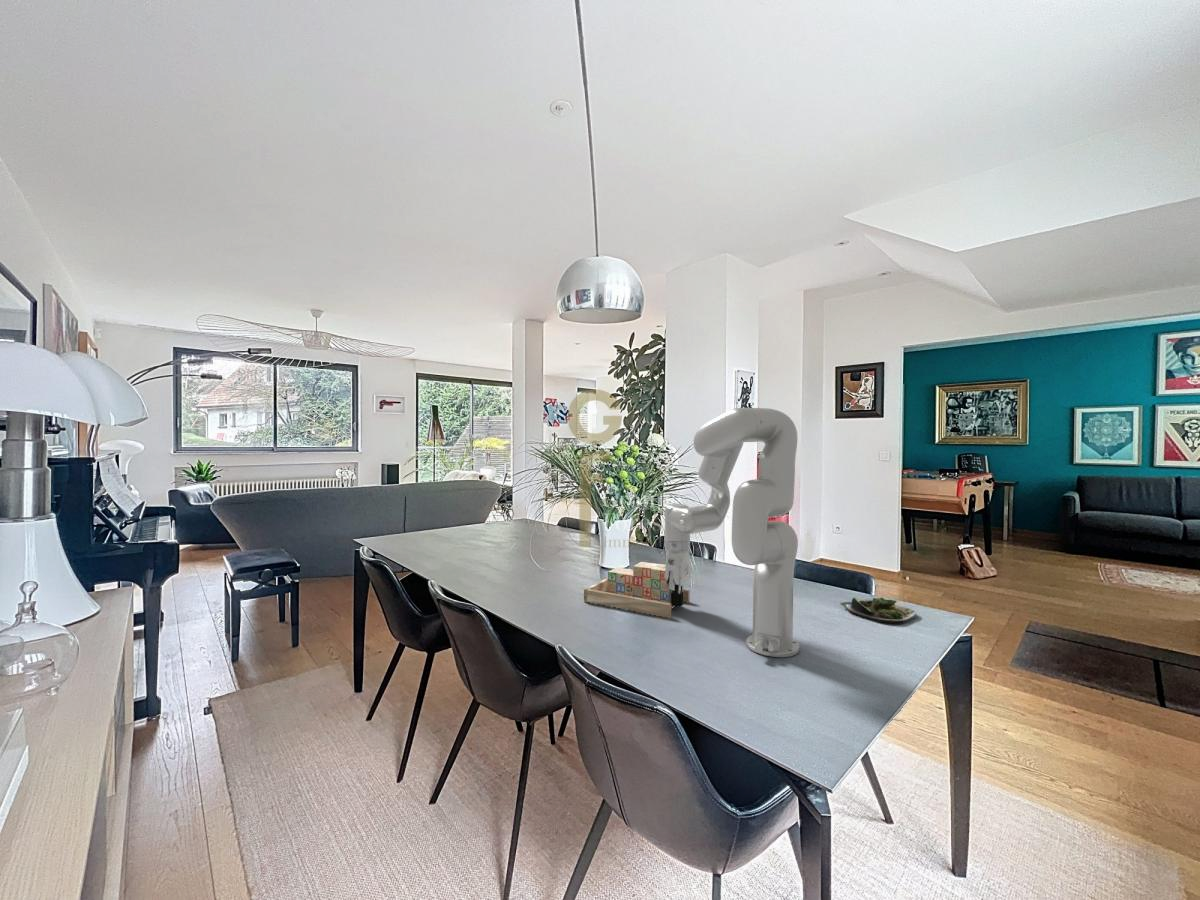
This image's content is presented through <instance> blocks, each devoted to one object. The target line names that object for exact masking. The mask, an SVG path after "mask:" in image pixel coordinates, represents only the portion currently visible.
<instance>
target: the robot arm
mask: <svg viewBox="0 0 1200 900" xmlns="http://www.w3.org/2000/svg"><path fill="white" fill-rule="evenodd" d="M757 442H760V443H761V442H762V443H764V446H763V449H762V450H761V453H760V455H759V459H758V472H757V478H756V479H750V480H747V481H744V482H743V483H741V484H740V485H739V486H738V487H737V488H736V491H735V493H734V495H733V498H732V499H733V500H732V511H731V512H732V513H731V514H732V516H731V517H732V518H731V548H732V550H733V551H732V552H733V554H734V556H735V558H736V559H737V560H738V561H739V562H740V563H742V564H744V565H747V566H754V569H753V575H752V576H753V579H752V634H750V635H749V636H747V637H746V640H745V641H746V642H745V643H746V647H747V648H748V649H749V650H751V651H752V652H754V653H757V654H760V655H763V656H767V657H773V658H789V657H794V656H796V655H797V654H799V652H800V645H799V642H797V640H795V639H794V580H795V579H794V573H795V564H796V559H797V558H796V557H797V554H798V547H799V546H798V545H799V543H798V542H799V540H798V539H799V538H798V535H797V532H796V531H795V529H794V528H793V527H792V526H791V525H790V524H788V523H787V522H785V521H782V520H769V521H768V519H771V518H776V517H781V516H783V515H787V514H788V513H789V512H790V511H791V510H792V509H793V506H794V501H795V500H794V499H795V481H796V480H795V478H796V477H795V476H796V456H797V448H798V430H797V427H796V425H795V423H794V421H793V419H792V418H791V417H790V416H788V415H787V414H785V413H784V412H783V411H780V410H777V409H774V408H766V407H765V408H764V407H736V408H733V409H730V410H728V411H726V412H723V414H721V415H719V416H717V417H715V418H713V419H711V420H709V421H708V422H706V423H704V424H703V425H702V426H701V427H699V429H697V431H696V432H695V434H694V437H693V448H694V450H695V451H696V453H697V454H698V455H699V456H701V457H703V458H702V462H701V463H700V466H699V468H698V471H697V475H698V477H699V479H701V481H702V482H703V483H705V484H706V485H708V486H710V488H711V491H710V496H709V498H708V501H707V503H706V505H699V506H692V507H689V506H688V505H686V504H682V503H671V504H668V505H666V506H665V509H664V551H666V555H665V564H664V565H665V581H666V583H667V584H669V590H671V604H672V605H673V606H674V607H679V608H681V607H682V606H683V605H684V602H683V591H684V589H685V584H686V583H688V582H689V581H690V580H691V578H692V566H691V553H690V552H691V535H693V534H699V533H700V534H701V533H703V532H704V533H705V532H710V531H714V530H717V529H718V528H720V526H721V525H722V524H723V522H724V520H725V519H726V517H727V514H728V511H729V509H730V505H731V493H730V487H729V480H730V477H731V474H732V472H733V469H734V467H735V465H736V463H737V460H738V459H739V456H740V453H741V450H742V448H743V446H744V443H757ZM669 578H670V580H669ZM668 580H669V581H668Z"/></svg>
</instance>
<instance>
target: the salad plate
mask: <svg viewBox="0 0 1200 900" xmlns="http://www.w3.org/2000/svg"><path fill="white" fill-rule="evenodd" d="M896 603H898V602H897V600H895V599H890V598H889V597H886V599H885V598H883V597H877V598H876V597H872V598H871V599H869V598H867V599H866V598H865V599H864V598H863V599H859V598H858V597H853V598H852V599H851V601H844V602H840V603H839V604H840V605H842V606H843V607H844V608H845V609H846V610H847V611H848V613H849V614H850V615H852V616H855V617H858V618H861V619H864V620H866V621H867V620H868V621H870V622H874V623H878V624H884V625H891V626H893V625H895V626H896V625H903V624H905V623H907V622H909V621H910V620H912V619H913V618H915V616H917V612H916V610H913V609H912V608H909V607H906V606H905V607H904V606H900V605H896Z"/></svg>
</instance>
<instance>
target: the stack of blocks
mask: <svg viewBox="0 0 1200 900" xmlns="http://www.w3.org/2000/svg"><path fill="white" fill-rule="evenodd" d="M665 565H666V564H663V563H662V564H661V563H654V562H653V563H652V562H645V561H640V562H638V563H637V564H635V565H633V569H631V568H623V567H614V568H612V569H611V570H609V571H608V572H607V578H608V591H607V592H608V593H614V594H620V595H625V596H631V597H637V598H642V599H648V600H654V601H659V602H665V603H671V590H669V584H667V583H666V581H665ZM669 580H670V578H669ZM669 580H668V581H669ZM672 607H673V605H672V604H671V608H672ZM673 608H674V607H673ZM673 608H672V609H673Z"/></svg>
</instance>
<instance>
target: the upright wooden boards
mask: <svg viewBox="0 0 1200 900" xmlns="http://www.w3.org/2000/svg"><path fill="white" fill-rule="evenodd" d="M606 591H607V592H606ZM690 592H691V591H690V589H688V588H684V591H683V603H684V602H686V604H690V601H691V600H690V598H691V597H690V595H691V594H690ZM584 601H585V602H584ZM583 602H584V603H587V602H590V603H589V604H592V603H596V604H595V605H597V604H601V605H600V606H602V605H607V606H612V607H611V608H613V607H616V608H615V609H618V608H621V609H620V610H623V609H627V610H626V611H628V610H631V611H630V612H633V611H636V612H635V613H639V612H641V613H640V614H644V613H646V614H645V615H649V614H651V616H654V615H656V616H655V617H659V616H662V617H661V618H665V617H667V618H666V619H670V617H671V618H672V609H671V603H665V602H659V601H654V600H648V599H642V598H637V597H631V596H625V595H620V594H614V593H608V577H606V578H604V579H602V580H600V581H598V582H596V583H594V584H592V585H590V586H588V587H586V588H584V589H583ZM607 606H606V607H607Z"/></svg>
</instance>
